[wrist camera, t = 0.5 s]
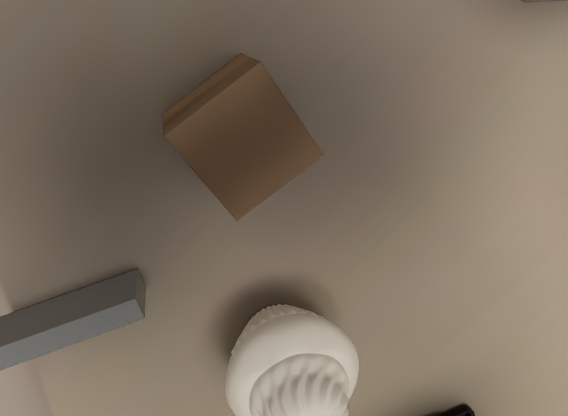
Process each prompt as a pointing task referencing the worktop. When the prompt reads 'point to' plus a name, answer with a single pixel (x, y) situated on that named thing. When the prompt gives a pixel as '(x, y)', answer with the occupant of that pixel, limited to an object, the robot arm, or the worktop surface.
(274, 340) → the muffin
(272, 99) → the walnut block
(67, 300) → the frame
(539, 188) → the worktop surface
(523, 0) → the cup
